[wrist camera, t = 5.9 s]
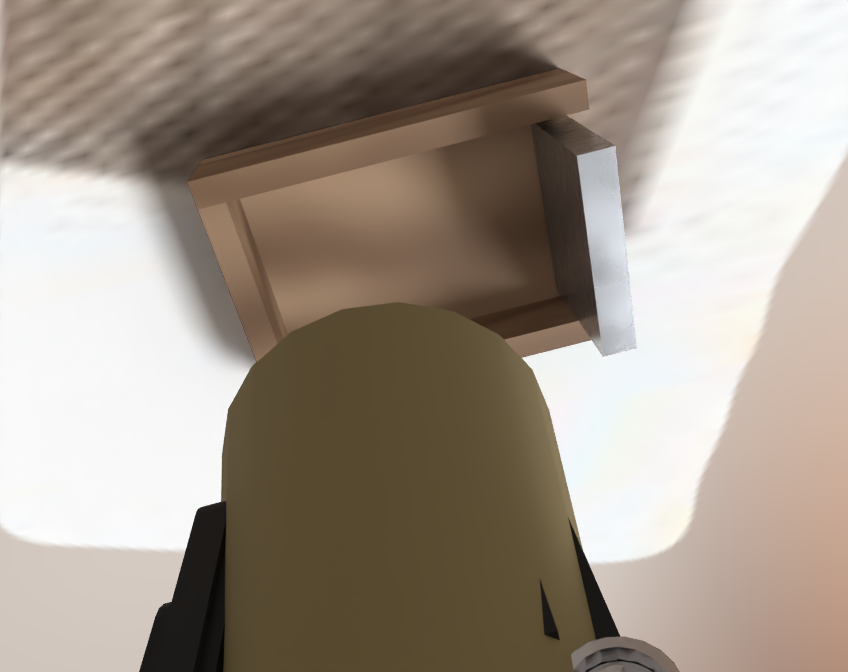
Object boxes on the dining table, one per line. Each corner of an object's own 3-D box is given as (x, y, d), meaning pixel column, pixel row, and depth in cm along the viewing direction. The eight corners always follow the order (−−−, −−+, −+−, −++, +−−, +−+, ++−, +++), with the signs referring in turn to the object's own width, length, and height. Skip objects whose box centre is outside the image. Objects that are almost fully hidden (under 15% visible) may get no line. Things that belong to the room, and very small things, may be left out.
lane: (202, 159, 28) (187, 182, 25) (559, 68, 28) (585, 79, 25) (283, 378, 32) (279, 419, 30) (590, 300, 32) (616, 333, 29)
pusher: (530, 119, 28) (576, 155, 22) (561, 111, 28) (615, 145, 22) (556, 289, 31) (603, 356, 26) (584, 282, 31) (636, 348, 26)
